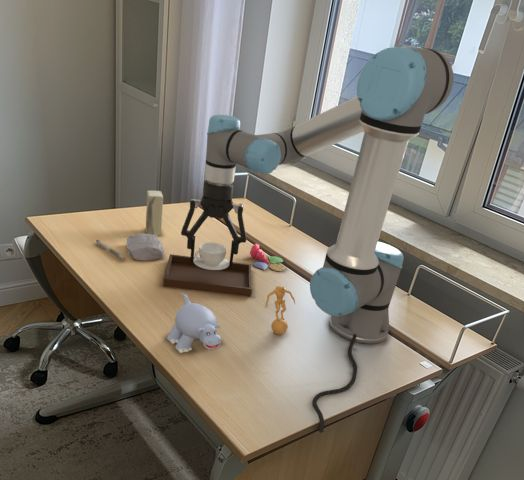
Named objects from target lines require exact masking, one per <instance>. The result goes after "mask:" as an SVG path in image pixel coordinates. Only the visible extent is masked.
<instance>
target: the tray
mask: <svg viewBox="0 0 524 480" xmlns="http://www.w3.org/2000/svg"><path fill="white" fill-rule="evenodd" d="M190 258H191V256H189V255H188V256H187V255H179V254H171V253H170V254H169V256H168V260H167V264H166V267H165V271H164V274H163V280H162V287H164V288H165V287H166V288H173V289H180V290H181V289H182V290H189V291H190V290H191V291H199V292H207V293H216V294H217V293H218V294H225V295H233V296H241V297H250V298H251V297H252V291H253V285H252V284H253V281H252V280H253V279H252V277H253V276H252V275H253V274H252V264H251V263H245V262H236V261H233V263H232V266H228V267H227V268H225V269H221V270H209V269H204V268H201V267H199V266H197V265H196V264H195V263H194V262H190ZM194 258H195V256H194ZM229 263H230V261H229Z"/></svg>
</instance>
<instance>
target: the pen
mask: <svg viewBox="0 0 524 480" xmlns="http://www.w3.org/2000/svg"><path fill="white" fill-rule="evenodd" d="M95 242H96V244H97V246H98V247H100V248H101V249H103V250H107V251H109V252H110V253H112V254H113V255H114V256H116V257H117V258H119V259H121V260H125V257H124V256H123V255H122V254H121V253H119V252H118V251H116V250H115V249H113V248H111V247H109V246H108V245H107V244H105V243H104V242H102V241H101V240H99V239H95Z"/></svg>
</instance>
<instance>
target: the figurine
mask: <svg viewBox="0 0 524 480" xmlns="http://www.w3.org/2000/svg"><path fill="white" fill-rule="evenodd" d="M286 293H287V294H289V296H290V298H291V299H292V300H293V304H296V300H295V297H294V296H293V294H292V292H291V291H290V290H288V289H286V288H285V286H281V285H277V286H276V287H275V289H273V290H272V291H271V292H268V294H267V297H266V301H265V306H264V308H267V307H268V306H269V304H268V303H269V300H270V297H271V296H272V295H274V294H275V297H276V300H274V305H275V309H276V310H275V318H276V319H274V320H273V321H272V323H271V330H272V332H273V333H274V334H276V335H284V334H285V333H286V332H287V331H288V328H289V326H288V325H289V324H288V322H287V320H286V319H285V318H284V312H286V311H287V307H286V300H285V299H284V297H285V295H286ZM281 308H282V309H281ZM279 313H280V318H279Z"/></svg>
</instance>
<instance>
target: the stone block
mask: <svg viewBox="0 0 524 480" xmlns="http://www.w3.org/2000/svg"><path fill="white" fill-rule="evenodd" d="M126 249H127V253H128V255H129V257H131V258H132V259H134V260H139V261H143V262H145V261H156V260H157V261H158V260H162V259H163V258H164V246H163V243H162V242H161V241H160V239H159V235H157V234H155V235H151V234H147V233H135V234H130V235H129V236H127V237H126Z"/></svg>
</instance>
